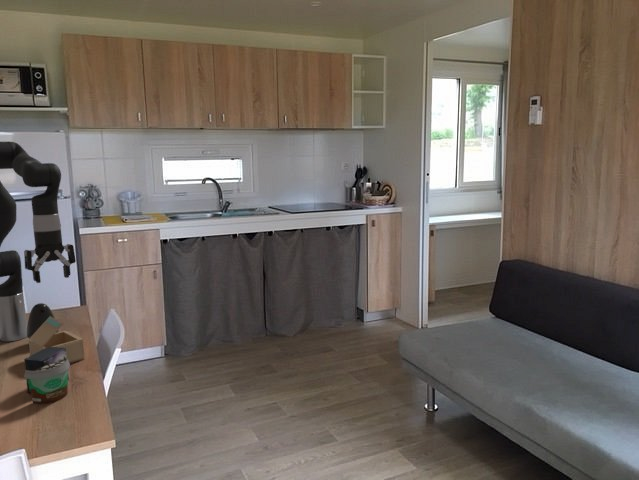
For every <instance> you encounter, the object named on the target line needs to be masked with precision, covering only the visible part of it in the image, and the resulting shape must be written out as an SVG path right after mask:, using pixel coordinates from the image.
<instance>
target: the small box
mask: <svg viewBox="0 0 639 480" xmlns="http://www.w3.org/2000/svg"><path fill="white" fill-rule="evenodd" d="M64 357H66V358H67V355H66V348H60V347H47V348H45V349H43V350H41V351H39V352H37V353H35V354H33V355H31V356H30V355H29V356H27V357H24V360H23V361H24V369H25V370H28V371H34V370H36V369H38V368H40V367H42V366H44V365H47V364H51V363H55V362H58V361H61V360H63V359H64ZM67 375H68V381H69V380H70V377H69V376H70V375H69V369H67ZM25 379H26V387H27V388H26V389H27V393H28V394H31V393H30V388H29V384H28V380H27V378H25Z"/></svg>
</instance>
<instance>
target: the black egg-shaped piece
mask: <svg viewBox="0 0 639 480" xmlns="http://www.w3.org/2000/svg"><path fill="white" fill-rule="evenodd" d="M49 316H51V317H53V318H55V319H56V317H55V315H54V313H53V312H52V310H51V307H50V306H48V305H47V304H45V303H43V302H40V303H39V302H38V303H36V304H35V305H33V307H32V309H30V313H29V316H28V320H27V337H26V338H28V340H30V339H29V338H30V337H31V336H32V335H33V334H34V333H35V332H36V331H37V330H38V329H39V327H40V326H41V325H42V324H43V323H44V322H45V321H46V320H47V319H48V318H49ZM59 330H60V329H59ZM59 330H58V331H57V332H56V333H58V332H60V331H59Z"/></svg>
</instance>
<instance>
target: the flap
mask: <svg viewBox="0 0 639 480" xmlns="http://www.w3.org/2000/svg"><path fill="white" fill-rule="evenodd" d="M63 325H64V322H62V321H60V320H58V319H56V317H55V318H53V317H51V316H49V318H48V319H47V320H46V321H45V322H44V323H43V324H42V325H41V326H40V327H39V329H38V330H37V331H36V332H35V333H34V334H33V335H32V336H31V337H30V338H28V340H29V339H30V340H32V341H33V342H35V343H37V344H38V345H40V346H41V347H43V346H44V345H45V344H46V343H47V342H48V341H49V340H50V339H51V337H52V336H53V335H54V334H55V333H56V332H57V331H58V330H60V329H61V328H62V326H63Z"/></svg>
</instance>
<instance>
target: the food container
mask: <svg viewBox="0 0 639 480" xmlns="http://www.w3.org/2000/svg"><path fill="white" fill-rule="evenodd" d="M70 366H71V363H70V364H69V361H68V359H67V358H66V357H64V359H63V360H61V361H58V362H55V363H51V364H47V365H44V366H42V367H40V368H38V369H36V370H34V371H28V370H25V372H24V377H23V378H24V379H26V378H27V380H28V384H29V388H30V393H29V394H30V396H31V400H32V404H35V405H45V404H51V403H55V402H58V401H60V400H63V399H64V398H66V397H67V395H68V392H69V391H68V389H69V388H68V385H69V384H68V381H69V380H68V376H69V374H68V375H67V369H68V370H69V369H70ZM27 380H26V381H27Z"/></svg>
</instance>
